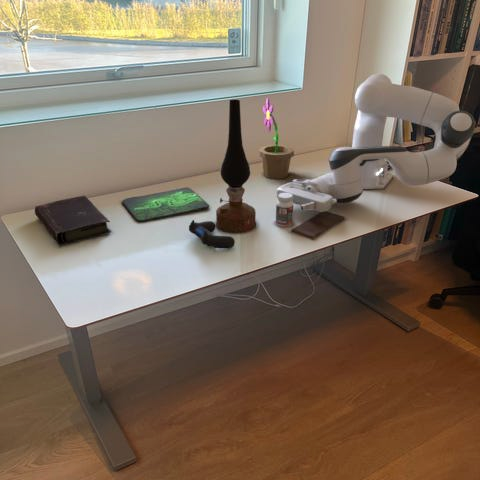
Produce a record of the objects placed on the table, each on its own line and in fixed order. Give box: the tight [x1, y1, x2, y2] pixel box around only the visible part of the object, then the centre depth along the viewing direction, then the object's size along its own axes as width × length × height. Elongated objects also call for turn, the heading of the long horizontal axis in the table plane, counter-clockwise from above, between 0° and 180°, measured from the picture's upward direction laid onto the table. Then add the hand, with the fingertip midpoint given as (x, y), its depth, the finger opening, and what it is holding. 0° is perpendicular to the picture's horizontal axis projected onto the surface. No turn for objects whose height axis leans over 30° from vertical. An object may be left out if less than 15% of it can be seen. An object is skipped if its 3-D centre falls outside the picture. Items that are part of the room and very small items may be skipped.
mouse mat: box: [121, 187, 210, 223], centre depth 184 cm, size 27×22×1 cm
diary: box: [34, 195, 112, 247], centre depth 168 cm, size 19×25×5 cm
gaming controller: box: [188, 219, 236, 250], centre depth 158 cm, size 17×6×10 cm
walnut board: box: [291, 210, 346, 240], centre depth 169 cm, size 20×8×1 cm, turn 141°
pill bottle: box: [275, 193, 294, 227], centre depth 168 cm, size 6×6×10 cm
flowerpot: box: [258, 97, 295, 180], centre depth 202 cm, size 14×14×30 cm
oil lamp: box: [215, 99, 257, 234], centre depth 161 cm, size 14×15×40 cm
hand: (290, 204), depth 169 cm, fingers open, 8 cm apart
